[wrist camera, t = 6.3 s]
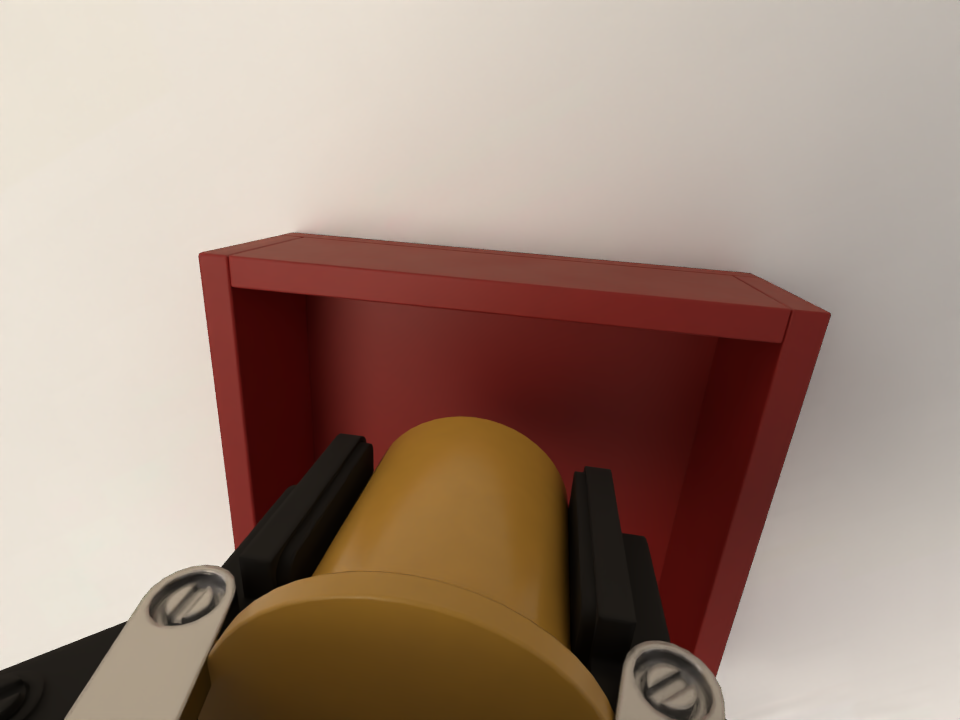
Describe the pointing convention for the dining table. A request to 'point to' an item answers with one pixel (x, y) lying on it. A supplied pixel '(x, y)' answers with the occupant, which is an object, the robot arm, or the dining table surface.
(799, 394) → the red open tray
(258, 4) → the dining table surface
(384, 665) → the brass drawer pull
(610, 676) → the robot arm
